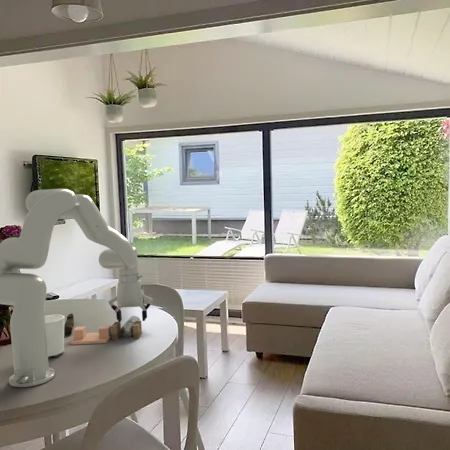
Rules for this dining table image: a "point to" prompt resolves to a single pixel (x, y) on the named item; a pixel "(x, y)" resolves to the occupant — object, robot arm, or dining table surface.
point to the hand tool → (69, 325)
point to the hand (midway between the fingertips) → (132, 320)
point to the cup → (55, 334)
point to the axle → (129, 326)
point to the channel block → (117, 330)
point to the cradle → (91, 335)
